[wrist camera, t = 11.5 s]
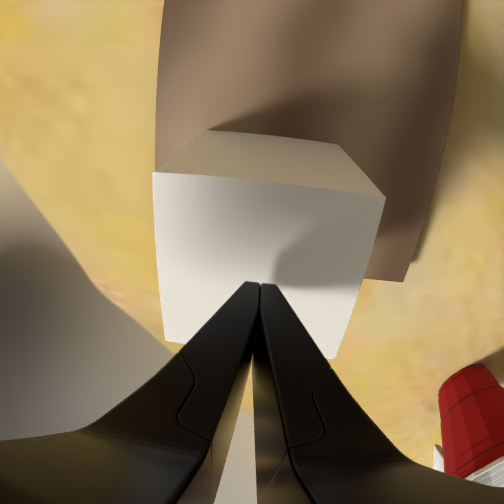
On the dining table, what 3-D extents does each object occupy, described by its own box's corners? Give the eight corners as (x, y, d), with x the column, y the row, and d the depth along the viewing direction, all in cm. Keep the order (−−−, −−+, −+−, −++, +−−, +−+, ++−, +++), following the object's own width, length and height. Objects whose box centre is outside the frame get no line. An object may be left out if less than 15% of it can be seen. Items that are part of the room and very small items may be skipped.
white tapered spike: (448, 465, 37) (450, 474, 35) (434, 471, 38) (436, 480, 36) (442, 437, 32) (444, 448, 30) (424, 444, 33) (426, 455, 31)
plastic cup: (507, 324, 21) (564, 431, 10) (505, 380, 25) (540, 465, 14) (403, 380, 24) (432, 503, 14) (422, 423, 28) (443, 514, 18)
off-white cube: (337, 144, 14) (385, 198, 8) (316, 257, 17) (334, 358, 11) (206, 130, 14) (152, 172, 8) (202, 244, 17) (165, 340, 11)
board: (448, -33, 9) (461, -39, 8) (395, 268, 18) (402, 282, 17) (187, -77, 9) (179, -88, 8) (166, 242, 19) (158, 255, 17)
